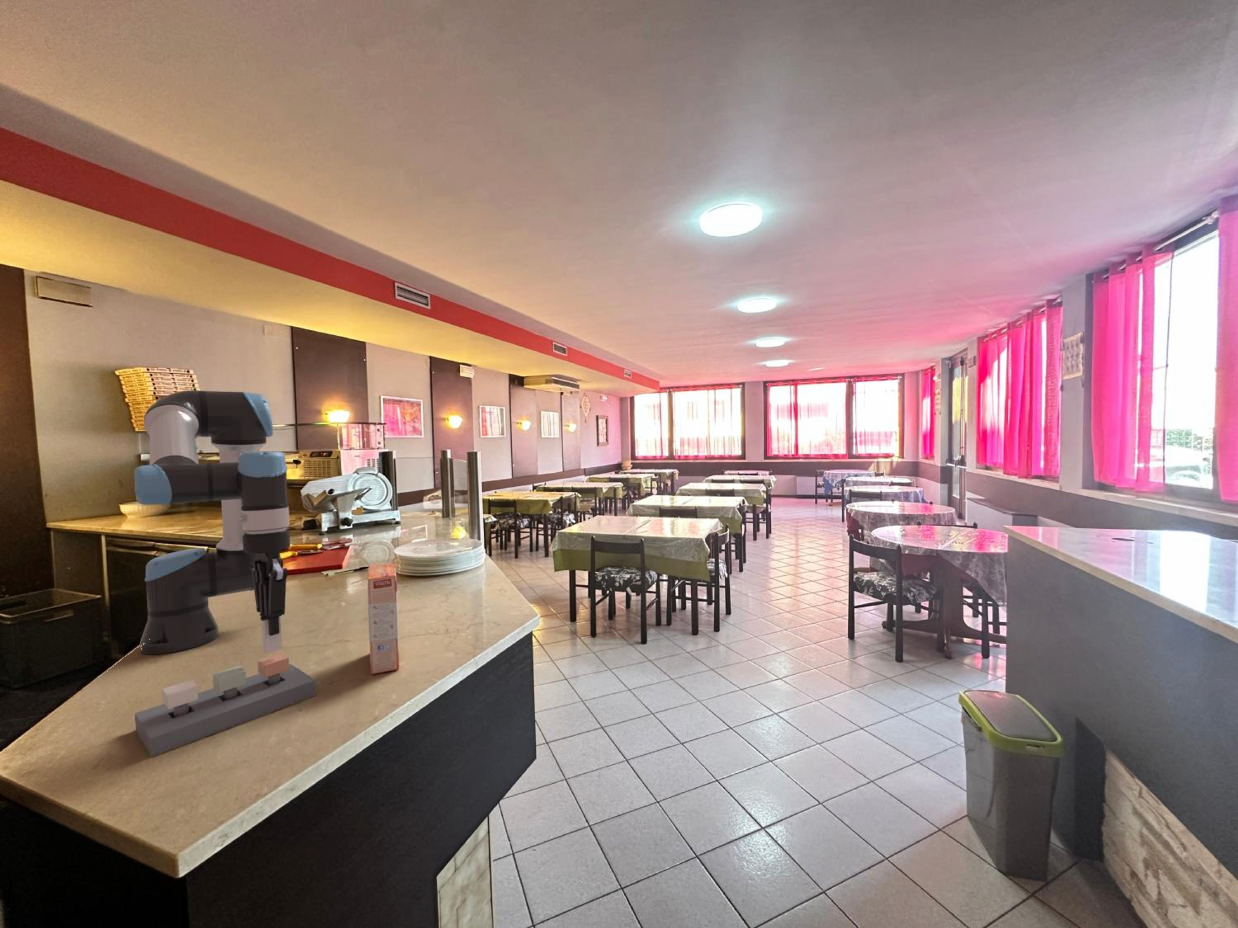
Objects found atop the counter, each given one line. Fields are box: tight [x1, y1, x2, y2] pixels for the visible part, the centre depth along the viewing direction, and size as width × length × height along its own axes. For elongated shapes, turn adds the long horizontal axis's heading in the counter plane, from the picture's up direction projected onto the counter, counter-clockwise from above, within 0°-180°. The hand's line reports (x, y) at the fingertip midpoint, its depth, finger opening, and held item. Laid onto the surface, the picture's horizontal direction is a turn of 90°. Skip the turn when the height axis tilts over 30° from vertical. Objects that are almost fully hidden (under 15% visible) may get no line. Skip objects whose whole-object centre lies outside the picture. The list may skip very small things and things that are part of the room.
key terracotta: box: [257, 652, 290, 686], centre depth 98 cm, size 4×4×5 cm
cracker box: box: [367, 563, 400, 675], centre depth 113 cm, size 14×6×21 cm, turn 26°
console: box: [134, 663, 317, 757], centre depth 93 cm, size 13×24×3 cm, turn 142°
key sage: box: [212, 665, 247, 701], centre depth 92 cm, size 4×4×5 cm
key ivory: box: [161, 679, 199, 718], centre depth 87 cm, size 4×4×5 cm
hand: (272, 649), depth 98 cm, fingers closed
